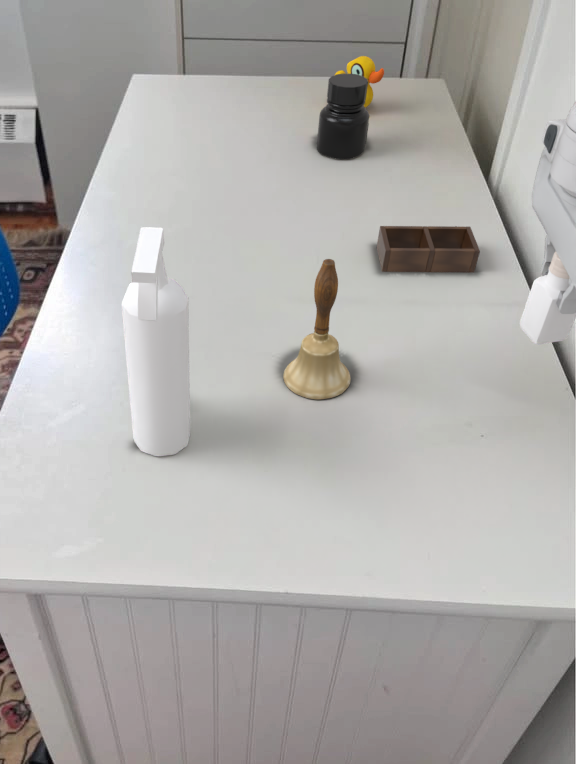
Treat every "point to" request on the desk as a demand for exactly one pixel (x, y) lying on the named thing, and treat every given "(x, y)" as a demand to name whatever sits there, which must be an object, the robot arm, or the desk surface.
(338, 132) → the ink bottle
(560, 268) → the pepper shaker
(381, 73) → the duckling
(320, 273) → the hand bell
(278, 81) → the desk surface
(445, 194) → the desk surface
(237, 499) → the desk surface
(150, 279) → the white spray bottle
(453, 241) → the holder
